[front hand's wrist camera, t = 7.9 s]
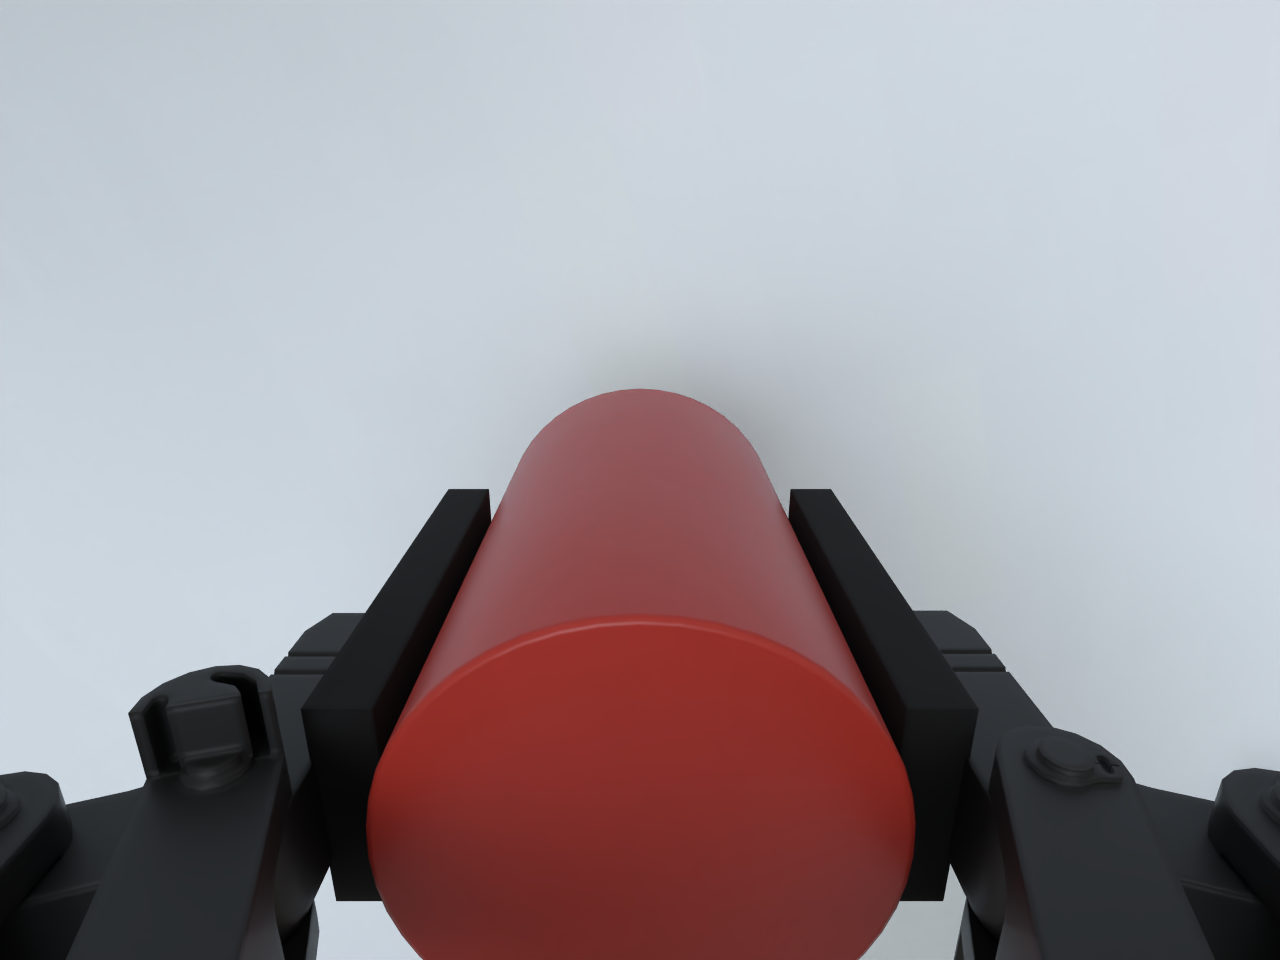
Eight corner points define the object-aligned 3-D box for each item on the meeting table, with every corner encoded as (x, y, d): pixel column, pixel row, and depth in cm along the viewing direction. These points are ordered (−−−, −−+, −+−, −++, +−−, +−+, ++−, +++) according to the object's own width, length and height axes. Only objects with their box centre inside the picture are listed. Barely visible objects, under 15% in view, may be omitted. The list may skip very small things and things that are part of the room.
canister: (484, 407, 15) (291, 657, 7) (760, 370, 15) (915, 581, 7) (535, 644, 17) (434, 1068, 9) (780, 614, 17) (921, 1022, 8)
